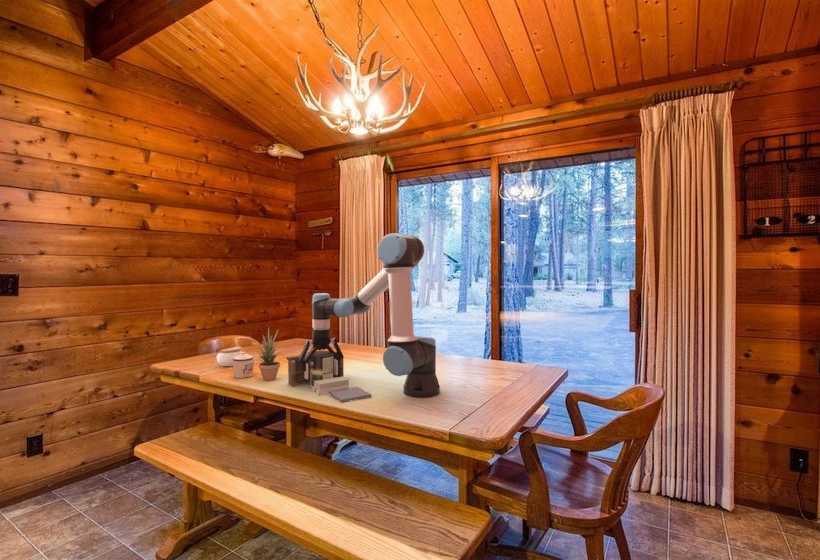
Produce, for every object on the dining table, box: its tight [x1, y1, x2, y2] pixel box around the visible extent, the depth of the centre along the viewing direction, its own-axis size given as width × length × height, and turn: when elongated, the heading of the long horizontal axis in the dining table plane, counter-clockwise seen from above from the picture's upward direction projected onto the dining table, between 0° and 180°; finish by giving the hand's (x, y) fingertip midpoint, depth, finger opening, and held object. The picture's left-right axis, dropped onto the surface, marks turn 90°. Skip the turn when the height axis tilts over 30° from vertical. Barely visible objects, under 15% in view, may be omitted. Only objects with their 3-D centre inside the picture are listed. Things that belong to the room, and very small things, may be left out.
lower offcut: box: [312, 385, 349, 396], centre depth 176 cm, size 6×13×2 cm, turn 123°
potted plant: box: [258, 326, 281, 381], centre depth 196 cm, size 10×10×25 cm
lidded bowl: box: [215, 344, 242, 367], centre depth 224 cm, size 13×13×11 cm
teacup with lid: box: [232, 351, 255, 379], centre depth 202 cm, size 12×9×12 cm
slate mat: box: [328, 386, 372, 403], centre depth 170 cm, size 13×13×1 cm
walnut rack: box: [286, 350, 345, 388], centre depth 191 cm, size 6×25×12 cm, turn 122°
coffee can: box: [309, 350, 333, 388], centre depth 185 cm, size 10×10×14 cm
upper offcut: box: [314, 376, 350, 390], centre depth 177 cm, size 6×13×2 cm, turn 124°
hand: (321, 376), depth 186 cm, fingers open, 13 cm apart
